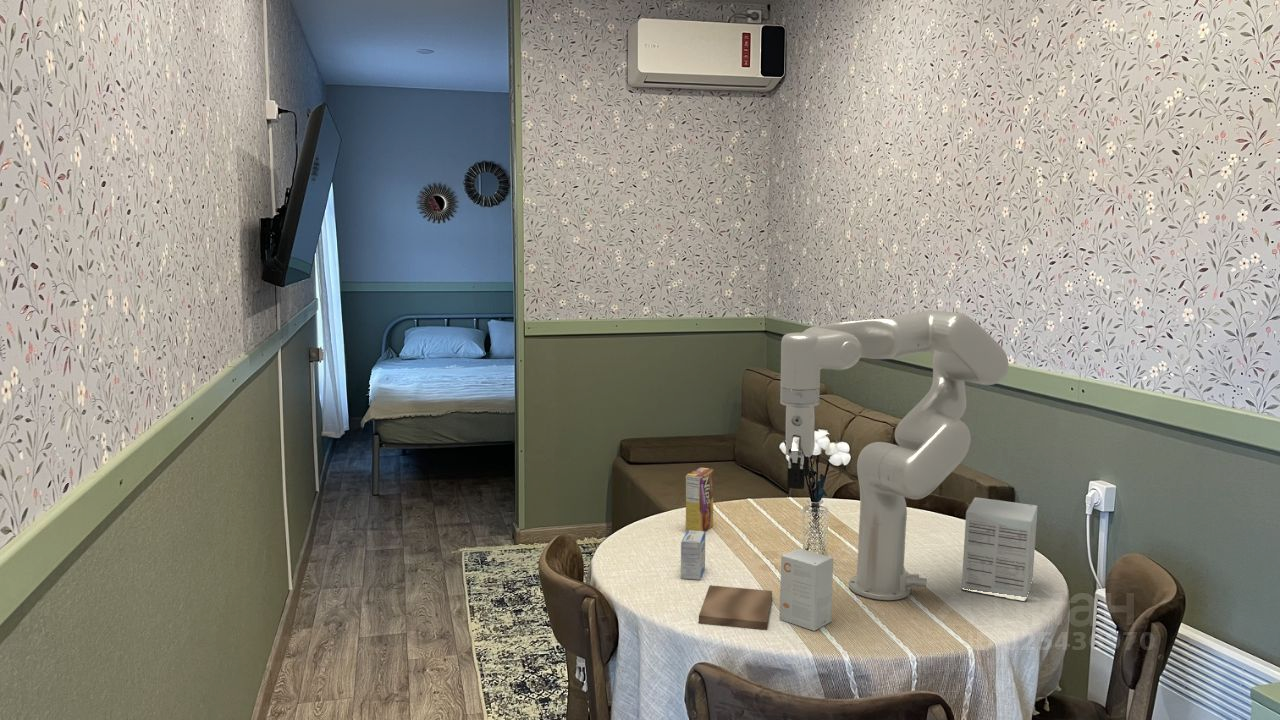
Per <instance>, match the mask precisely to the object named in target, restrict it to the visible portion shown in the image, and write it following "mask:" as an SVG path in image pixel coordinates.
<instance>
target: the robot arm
mask: <svg viewBox="0 0 1280 720" xmlns="http://www.w3.org/2000/svg"><path fill="white" fill-rule="evenodd" d="M927 352H934V353H933V358H932V383H931V387H930V389H929V391H928V392H927V393H926V394H925V396H924V397H923V398H922V399H920V401H919V402H918V403H917V404H916V405H915V406H914V407H913V408H912V409H911V410H910V411H908V412H907V414H906V415H904V417H902V419H901V420H900V421H899V423H898V424H897V426H896V427H895V431H894V439H895V443H896V444H893V443H890V442H886V441H885V442H884V441H875V442H871V443H869V444H867V445H866V446H864V447H863V448H862V449H861V451H860V452H859V454H858V458H857V463H856V471H857V478H858V479H857V480H858V484H859V499H860V500H859V501H860V503H859V504H860V505H859V523H858V524H859V525H858V526H859V527H858V545H857V565H856V567H857V568H856V575H855V576H852V577H850V578H849V581H848V586H849V588H850V590H851V591H852V592H853V593H855V594H857V595H859V596H861V597H864V598H868V599H872V600H879V601H896V600H901V599H904V598H907V597H908V596H910V595H911V586H913V587H914V586H915V587H920V588H922V587H923V588H927V577H920V574H917V573H908V572H907V571H906V568H905V553H906V551H905V549H906V535H907V534H906V532H907V520H908V517H907V515H908V510H907V502H906V498H907V499H911V500H921V499H924V498H925V497H927V496H929V495H930V494H932V493H933V491H935V490H936V489H937V488H938V487H939V486H940V485H941V484H942V483H943V482H944V481H945V480H946V478H947V477H948V476H949V475H950V474H951V473H952V472H953V471H955V469H956V468H957V467H958V466H959V465H960V464H961V463H962V461H964V459H965V458H966V455H967V453H968V452H969V448H970V446H971V438H972V436H971V432H970V428H969V427H968V426H967V424H966V423H965V422H963V421H962V420H961V418H962V417H963V415H964V413H965V411H966V408H967V396H966V384H965V383H966V382H967V383H973V384H977V385H978V384H979V385H982V386H983V385H985V386H991V385H996V384H999V383H1000V382H1001V381H1002V380H1003V379H1004V378H1005V377H1006V376H1007V373H1008V371H1009V359H1008V358H1009V357H1008V355H1007V353H1006V351H1005V349H1004V348H1003V347H1002V346H1001V345H1000V343H998V342H997V341H996V340H995V339H994V338H993V337H992V336H991V335H990V334H989V332H987V331H986V330H985V329H984V328H983V327H982V326H981V325H980V324H979V323H978V322H977V321H976V320H974V319H973V318H972V317H970V316H969V315H966V314H964V313H961V312H953V311H952V312H951V311H944V310H943V311H942V310H925V311H924V310H923V311H916V312H912V313H906V314H901V315H895V316H889V317H888V316H887V317H881V318H870V319H862V320H856V321H855V320H854V321H841V322H834V323H828V324H822V325H816V326H811V327H809V328H806V329H805V330H804V331H802V332H789V333H786V334H784V335H782V338H781V343H780V394H779V396H780V399H779V401H780V404H781V405H782V406H785V454H786V455H787V456H788V467H787V470H786V471H787V475H786V476H787V480H786V483H787V486H786V487H787V488H788V489H795V490H796V489H797V490H804V488H805V477H808V476H809V473H810V457H811V456H813V454H814V451H815V446H816V445H815V438H816V437H815V429H816V428H815V424H816V423H815V419H816V418H815V407H816V406H819V405H820V387H821V386H820V385H821V384H820V383H821V382H820V381H821V370H836V371H842V370H847V369H851V368H852V367H854V366H855V365H856V364H857V363H859V360H860V359H862V358H863V359H873V360H893V359H898V358H903V357H907V356H912V355H917V354H922V353H927Z"/></svg>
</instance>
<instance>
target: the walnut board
mask: <svg viewBox="0 0 1280 720" xmlns="http://www.w3.org/2000/svg"><path fill="white" fill-rule="evenodd" d="M707 588H708V589H707V592H706V593H705V597H704V600H703V603H702V605H701V607H700V608H701V609H700V610H699V611H700V612H699V614H698V623H699V624H703V623H704V624H706V625H716V626H726V627H734V628H735V627H736V628H744V629H745V628H747V629H755V630H768V624H769V619H770V612H771V606H772V601H773V600H772V599H773V590H767V589H765V590H764V589H754V588H745V587H733V586H724V585H723V586H720V585H712V584H711V585H709V586H708V587H707Z"/></svg>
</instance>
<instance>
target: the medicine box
mask: <svg viewBox="0 0 1280 720" xmlns="http://www.w3.org/2000/svg"><path fill="white" fill-rule="evenodd" d="M705 567H706V531H705V532H704V531H692V530H690V531H687V532H686V531H685V534H684V536H683V538H682V540H681V542H680V579H684V580H695V581H696V580H697V581H701V580H702V576H703V573H704V571H705Z"/></svg>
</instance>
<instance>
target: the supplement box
mask: <svg viewBox="0 0 1280 720" xmlns="http://www.w3.org/2000/svg"><path fill="white" fill-rule="evenodd" d="M1037 520H1038V505H1036V504H1028V503H1021V502H1014V501H1006V500H1000V499H990V498H985V497H984V498H983V497H976V496H975V497H974V498H973V499H972V502H971V503H970V504H969V506H968V508H967V510H966V511H965V527H964V540H963V541H964V543H963V544H964V545H963V558H962V559H963V563H962V577H961V588H964V589H968V590H969V589H970V590H977V591H983V592H992V593H999V594H1007V595H1014V596H1021V597H1027V595H1028V592H1029V589H1030V590H1031V588H1030V586H1031V587H1032V585H1031V582H1032V583H1033V580H1032V578H1033V577H1034V576H1033V575H1034V566H1035V565H1034V562H1035V550H1036V549H1035V548H1036V535H1037ZM1033 579H1034V578H1033ZM1029 593H1030V592H1029ZM1028 596H1029V595H1028Z"/></svg>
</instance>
